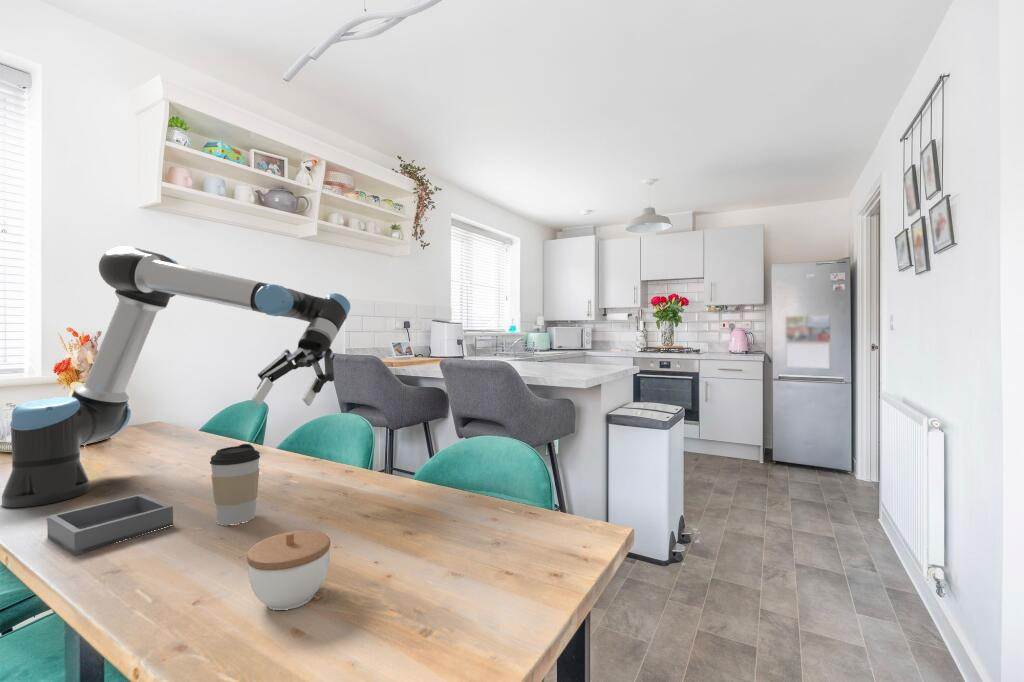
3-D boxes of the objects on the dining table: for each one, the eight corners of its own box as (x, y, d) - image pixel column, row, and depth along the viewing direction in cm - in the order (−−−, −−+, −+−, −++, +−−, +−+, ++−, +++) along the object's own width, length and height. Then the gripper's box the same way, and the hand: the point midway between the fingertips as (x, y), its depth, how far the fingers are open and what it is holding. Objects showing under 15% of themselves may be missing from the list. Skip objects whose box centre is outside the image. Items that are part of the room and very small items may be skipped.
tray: (47, 537, 90) (47, 516, 90) (141, 512, 102) (141, 493, 102) (74, 555, 82) (74, 532, 82) (173, 526, 94) (172, 506, 94)
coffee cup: (238, 529, 92) (237, 453, 92) (199, 526, 94) (198, 451, 94) (270, 512, 101) (269, 443, 101) (234, 510, 103) (233, 441, 103)
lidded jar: (268, 581, 72) (267, 520, 72) (339, 577, 73) (339, 517, 73) (232, 623, 61) (231, 552, 61) (317, 618, 62) (316, 548, 62)
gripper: (365, 347, 126) (334, 412, 112) (284, 349, 131) (244, 411, 117) (354, 327, 121) (320, 392, 106) (270, 330, 126) (227, 392, 112)
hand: (280, 402), depth 111 cm, fingers open, 13 cm apart
